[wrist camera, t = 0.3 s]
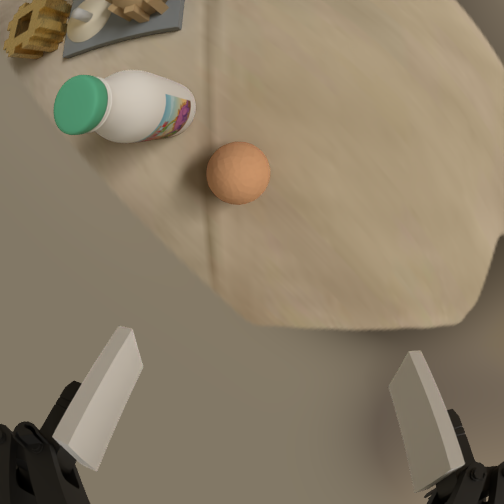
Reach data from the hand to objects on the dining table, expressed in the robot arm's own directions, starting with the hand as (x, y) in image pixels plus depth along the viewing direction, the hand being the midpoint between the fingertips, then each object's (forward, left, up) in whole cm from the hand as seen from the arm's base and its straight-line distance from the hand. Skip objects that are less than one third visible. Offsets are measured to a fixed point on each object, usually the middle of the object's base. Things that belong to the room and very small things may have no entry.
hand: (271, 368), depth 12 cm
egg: (-4, -5, -28) cm, 29 cm away
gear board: (-30, -24, -28) cm, 47 cm away
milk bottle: (-12, -15, -28) cm, 34 cm away
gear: (-32, -40, -28) cm, 58 cm away
